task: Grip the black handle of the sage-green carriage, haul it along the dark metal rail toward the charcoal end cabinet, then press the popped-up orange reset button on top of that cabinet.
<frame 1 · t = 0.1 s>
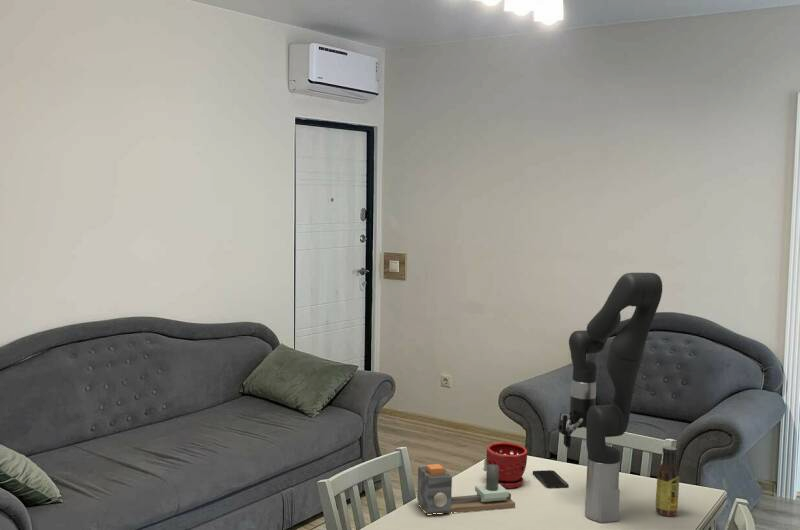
hand: (579, 446, 252), 17 cm above the table, tool pointing down, fingers open, 8 cm apart
rail: (466, 506, 245), on the table
sauce bottle: (666, 513, 245), on the table
plant pot: (505, 484, 266), on the table
carriage: (492, 482, 247), point 7 cm above the table, slide at 0.0 cm
reset button: (434, 471, 241), point 12 cm above the table, slide at 0.0 cm
phone: (549, 481, 271), on the table
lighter: (494, 471, 279), on the table
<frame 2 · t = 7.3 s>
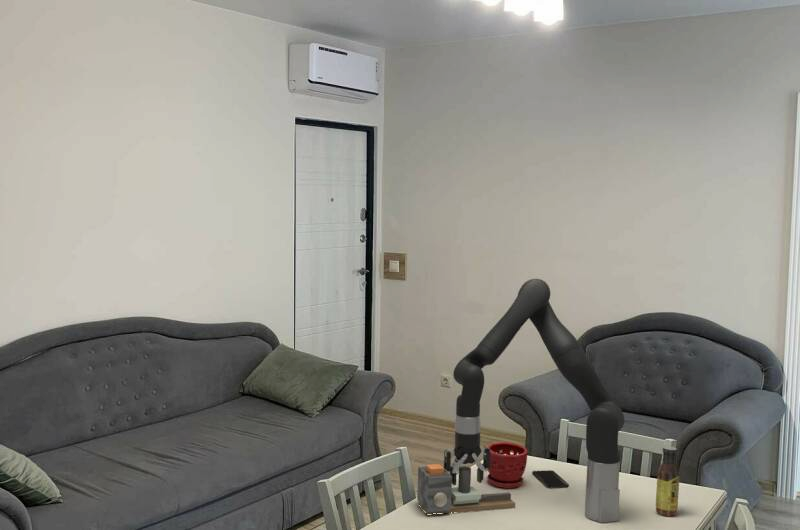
hand: (466, 483, 245), 7 cm above the table, tool pointing down, fingers open, 7 cm apart
carriage: (464, 484, 244), point 7 cm above the table, slide at 9.0 cm
everything else where it was.
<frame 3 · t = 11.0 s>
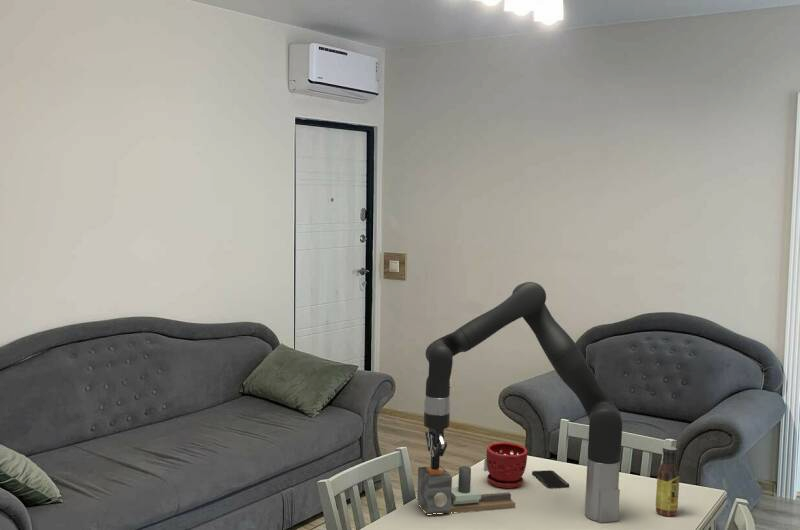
hand: (434, 468, 241), 13 cm above the table, tool pointing down, fingers closed
reset button: (434, 473, 241), point 11 cm above the table, slide at 0.6 cm, touching gripper
everything else where it was.
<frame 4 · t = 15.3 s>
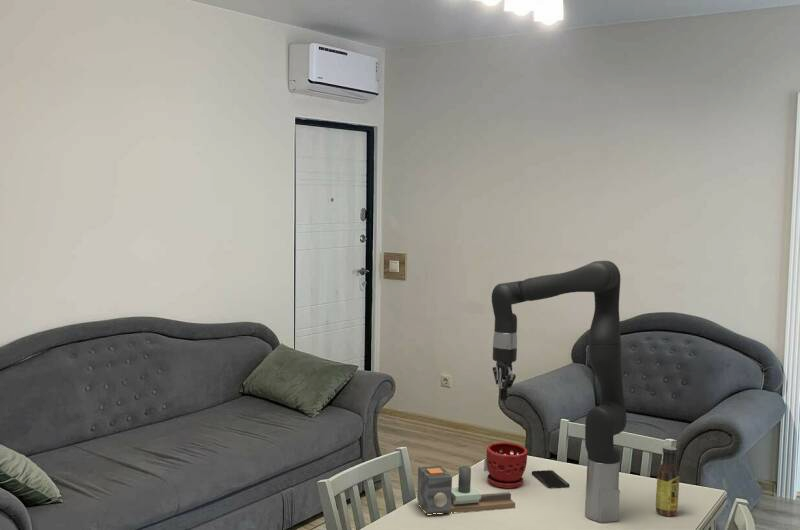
hand: (502, 399, 259), 29 cm above the table, tool pointing down, fingers closed
reset button: (434, 475, 241), point 10 cm above the table, slide at 1.2 cm
everything else where it was.
at the end: carriage slide at 9.0 cm; reset button slide at 1.2 cm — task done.
